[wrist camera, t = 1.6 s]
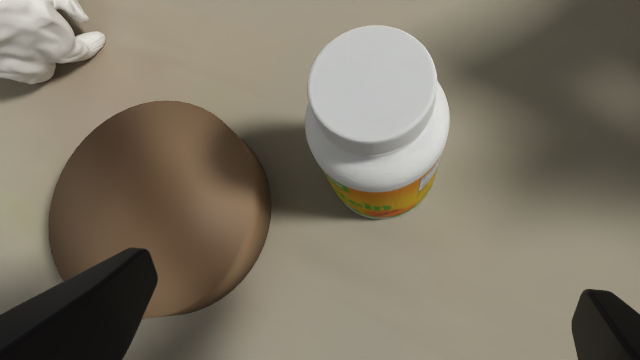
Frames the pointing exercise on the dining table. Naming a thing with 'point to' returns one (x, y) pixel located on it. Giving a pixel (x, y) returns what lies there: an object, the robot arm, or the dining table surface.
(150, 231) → the plinth
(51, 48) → the white lumpy figure
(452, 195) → the dining table surface
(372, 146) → the supplement bottle
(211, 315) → the dining table surface
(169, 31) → the dining table surface
